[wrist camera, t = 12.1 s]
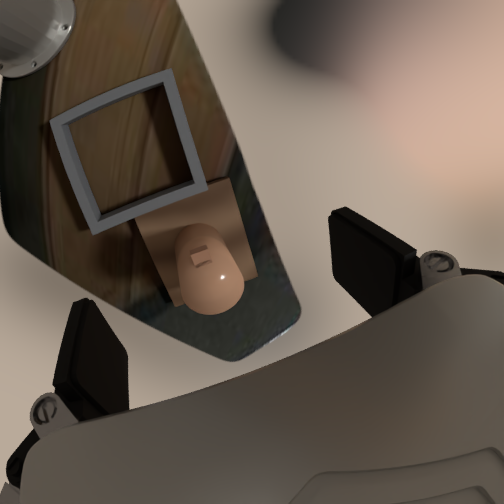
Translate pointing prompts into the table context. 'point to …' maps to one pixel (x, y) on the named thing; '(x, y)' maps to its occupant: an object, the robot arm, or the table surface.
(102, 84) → the table surface
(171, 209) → the board
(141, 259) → the table surface
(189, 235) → the tan tapered capsule
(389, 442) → the robot arm
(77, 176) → the holder frame
